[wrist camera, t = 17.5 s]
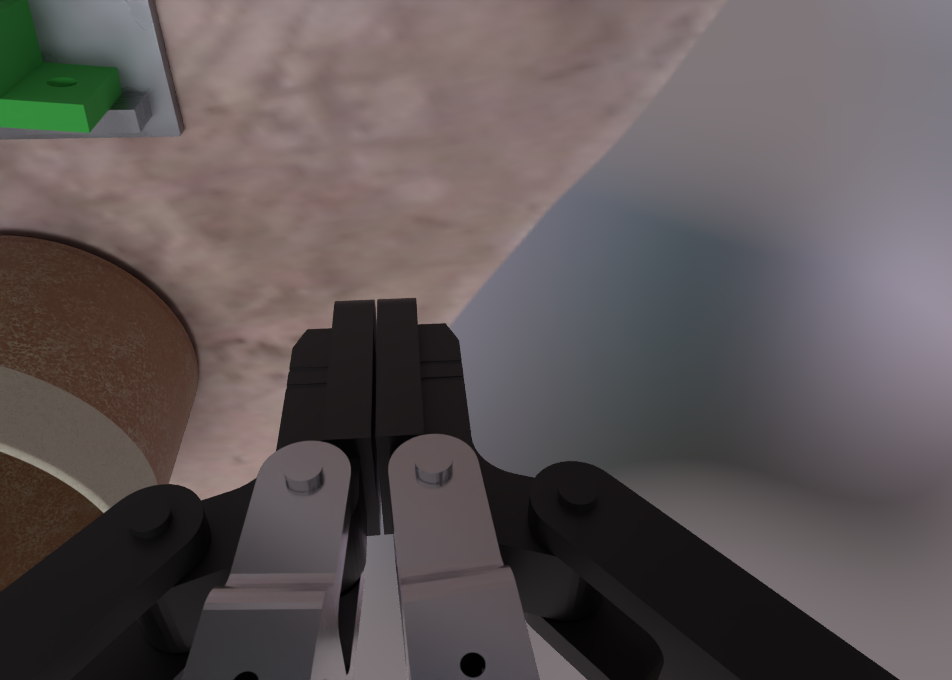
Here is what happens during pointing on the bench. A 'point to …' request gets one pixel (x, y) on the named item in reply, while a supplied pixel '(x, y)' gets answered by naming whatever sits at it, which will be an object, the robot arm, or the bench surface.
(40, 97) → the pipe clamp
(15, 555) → the planter
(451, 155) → the bench surface
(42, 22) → the steel channel
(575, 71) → the bench surface
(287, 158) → the bench surface
